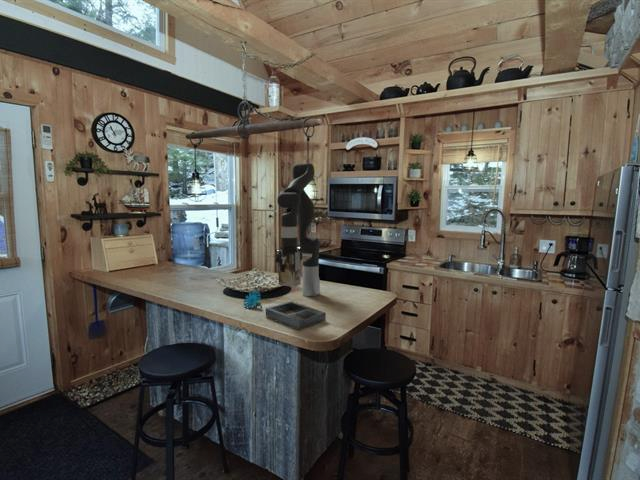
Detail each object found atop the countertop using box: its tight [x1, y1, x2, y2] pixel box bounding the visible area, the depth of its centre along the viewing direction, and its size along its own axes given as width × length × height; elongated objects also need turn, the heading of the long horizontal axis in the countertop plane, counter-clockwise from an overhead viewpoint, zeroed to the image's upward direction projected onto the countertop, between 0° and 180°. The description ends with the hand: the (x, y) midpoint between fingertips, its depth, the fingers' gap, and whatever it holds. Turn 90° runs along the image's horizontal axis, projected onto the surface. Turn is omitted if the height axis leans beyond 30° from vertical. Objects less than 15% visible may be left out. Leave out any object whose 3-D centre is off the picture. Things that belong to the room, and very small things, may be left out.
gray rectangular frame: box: [265, 300, 327, 331], centre depth 159 cm, size 16×24×4 cm, turn 45°
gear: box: [243, 290, 263, 309], centre depth 177 cm, size 11×6×10 cm
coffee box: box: [277, 251, 302, 288], centre depth 160 cm, size 9×6×16 cm
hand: (289, 270), depth 160 cm, fingers closed on coffee box, 8 cm apart
